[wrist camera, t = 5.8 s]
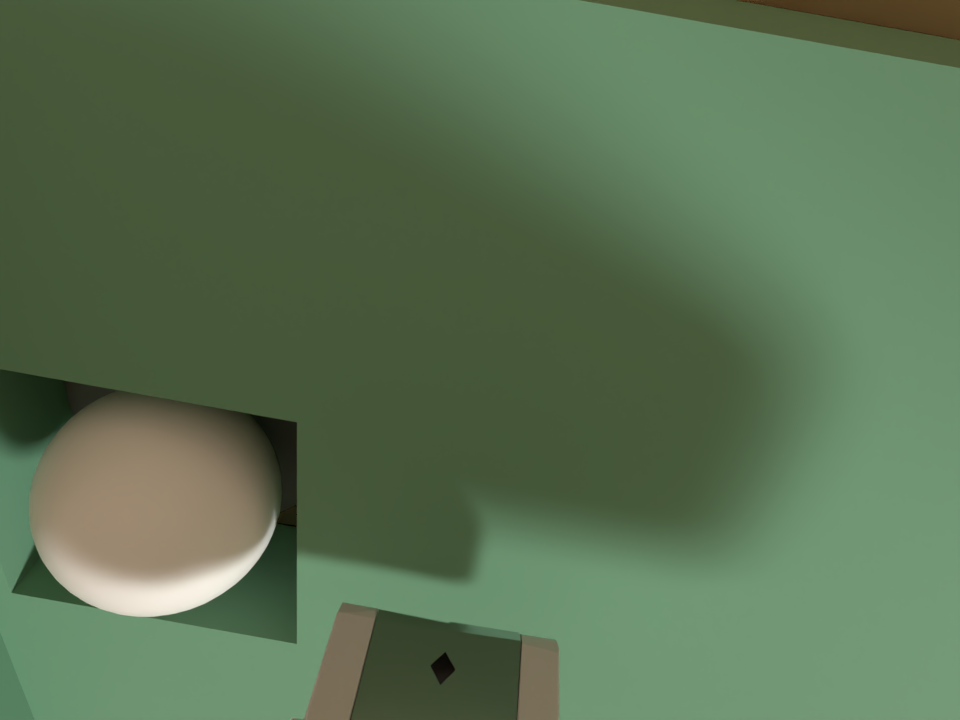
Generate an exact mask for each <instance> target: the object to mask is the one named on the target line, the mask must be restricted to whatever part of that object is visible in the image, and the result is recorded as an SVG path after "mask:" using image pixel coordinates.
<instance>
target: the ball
mask: <svg viewBox="0 0 960 720" xmlns="http://www.w3.org/2000/svg"><path fill="white" fill-rule="evenodd" d="M281 498H282V485H281V473H280V468H279V464H278V461H277V458H276V454H275V452H274V449H273V447H272V445H271V443H270V441H269V439H268V437H267V436H266V434H265V432H264V431H263V430H262V428H261V427H260V426H259V424H258V423H257V422H256V421H255V419H254V418H253V417H252V416H251V415H250V414H248V413H242V412H237V411H231V410H226V409H220V408H214V407H209V406H203V405H198V404H192V403H187V402H181V401H175V400H170V399H164V398H159V397H153V396H147V395H142V394H136V393H131V392H125V391H120V390H117V391H114V392H112V393H110V394H108V395H106V396H103V397H101V398H99V399H98V400H96V401H94V402H93V403H91V404H89V405H88V406H86V407H85V408H83V409H82V410H80V411H79V412H78V413H77V414H75V415H74V416H73V417H72V418H70V419H69V420H68V421H67V423H66V424H65V425H64V426H63V427H62V428H61V429H60V430H59V431H58V432H57V434H56V435H55V436H54V438H53V439H52V440H51V442H50V443H49V444H48V446H47V447H46V449H45V451H44V453H43V455H42V457H41V458H40V460H39V462H38V465H37V468H36V471H35V473H34V476H33V480H32V485H31V490H30V495H29V520H30V528H31V533H32V537H33V540H34V543H35V546H36V549H37V551H38V553H39V556H40V557H41V559H42V561H43V563H44V564H45V566H46V567H47V569H48V570H49V571H50V573H51V574H52V575H53V576H54V578H55V579H56V580H57V581H58V582H59V583H60V584H61V585H62V586H63V587H65V588H66V589H67V590H68V591H69V592H70V593H72V594H73V595H75V596H76V597H78V598H79V599H81V600H83V601H84V602H86V603H88V604H90V605H92V606H95V607H97V608H99V609H102V610H105V611H109V612H112V613H116V614H120V615H127V616H135V617H155V616H162V615H170V614H175V613H179V612H183V611H187V610H190V609H193V608H195V607H198V606H200V605H203V604H205V603H207V602H209V601H211V600H212V599H214V598H216V597H218V596H220V595H221V594H223V593H224V592H225V591H227V590H228V589H230V588H231V587H232V586H234V585H235V584H236V583H237V582H238V581H240V580H241V579H242V578H243V577H244V576H245V575H246V574H247V573H248V572H249V571H250V569H251V568H252V567H253V566H254V565H255V563H256V562H257V561H258V559H259V558H260V557H261V555H262V553H263V552H264V550H265V549H266V547H267V545H268V543H269V541H270V539H271V537H272V535H273V532H274V530H275V527H276V524H277V520H278V517H279V513H280V506H281Z"/></svg>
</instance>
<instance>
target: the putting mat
mask: <svg viewBox="0 0 960 720" xmlns="http://www.w3.org/2000/svg"><path fill="white" fill-rule="evenodd" d="M117 390H120V391H125V392H131V393H136V394H142V395H147V396H153V397H159V398H164V399H170V400H175V401H181V402H187V403H192V404H198V405H203V406H209V407H214V408H220V409H226V410H231V411H237V412H242V413H248V414H250V415H251V416H252V417H253V418H254V419H255V421H256V422H257V423H258V424H259V426H260V427H261V428H262V430H263V431H264V432H265V434H266V436H267V437H268V439H269V441H270V443H271V445H272V447H273V449H274V452H275V454H276V458H277V461H278V464H279V468H280V473H281V485H282V498H281V506H280V512H282V511H284V510H287V509H289V508H291V507H293V506H295V505H297V527H293V526H287V525H281V524H276V527H275V530H274V532H273V535H272V537H271V539H270V541H269V543H268V545H267V547H266V549H265V550H264V552H263V553H262V555H261V557H260V558H259V559H258V561H257V562H256V563H255V565H254V566H253V567H252V568H251V569H250V571H249V572H248V573H247V574H246V575H245V576H244V577H243V578H242V579H241V580H240V581H238V582H237V583H236V584H235V585H234V586H232V587H231V588H230V589H228V590H227V591H225V592H224V593H223V594H221V595H220V596H218V597H216V598H214V599H212V600H211V601H209V602H207V603H205V604H203V605H200V606H198V607H195V608H193V609H190V610H187V611H183V612H179V613H175V614H170V615H162V616H155V617H135V616H127V615H120V614H116V613H112V612H109V611H105V610H102V609H99V608H97V607H95V606H92V605H90V604H88V603H86V602H84V601H83V600H81V599H79V598H78V597H76V596H75V595H73V594H72V593H70V592H69V591H68V590H67V589H66V588H65V587H63V586H62V585H61V584H60V583H59V582H58V581H57V580H56V579H55V578H54V576H53V575H52V574H51V573H50V571H49V570H48V569H47V567H46V566H45V564H44V563H43V561H42V559H41V557H40V556H39V553H38V551H37V549H36V546H35V543H34V540H33V537H32V533H31V528H30V520H29V495H30V490H31V485H32V480H33V476H34V473H35V471H36V468H37V465H38V462H39V460H40V458H41V457H42V455H43V453H44V451H45V449H46V447H47V446H48V444H49V443H50V442H51V440H52V439H53V438H54V436H55V435H56V434H57V432H58V431H59V430H60V429H61V428H62V427H63V426H64V425H65V424H66V423H67V421H68V420H69V419H70V418H72V417H73V416H74V415H75V414H77V413H78V412H79V411H80V410H82V409H83V408H85V407H86V406H88V405H89V404H91V403H93V402H94V401H96V400H98V399H99V398H101V397H103V396H106V395H108V394H110V393H112V392H114V391H117ZM343 602H344V603H349V604H355V605H361V606H367V607H372V608H378V609H381V610H386V611H391V612H397V613H402V614H407V615H413V616H418V617H423V618H428V619H434V620H439V621H444V622H456V623H462V624H468V625H475V626H481V627H487V628H494V629H500V630H506V631H512V632H519V634H523V635H529V636H536V637H542V638H549V639H555V640H556V641H557V644H558V646H559V720H960V40H956V39H950V38H945V37H939V36H934V35H928V34H922V33H917V32H911V31H906V30H900V29H894V28H889V27H883V26H878V25H872V24H866V23H861V22H855V21H850V20H844V19H838V18H833V17H827V16H822V15H816V14H811V13H805V12H799V11H794V10H788V9H783V8H777V7H771V6H766V5H760V4H755V3H749V2H743V1H738V0H0V720H291V719H292V718H297V719H304V717H305V714H306V710H307V707H308V704H309V701H310V698H311V694H312V691H313V688H314V685H315V682H316V678H317V675H318V672H319V669H320V666H321V662H322V659H323V656H324V653H325V650H326V646H327V643H328V640H329V637H330V634H331V630H332V627H333V624H334V621H335V618H336V614H337V612H338V610H339V608H340V606H341V605H342V603H343Z"/></svg>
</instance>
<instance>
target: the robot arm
mask: <svg viewBox="0 0 960 720" xmlns="http://www.w3.org/2000/svg"><path fill="white" fill-rule="evenodd" d="M291 720H559V646H558V644H557V641H556V640H555V639H549V638H542V637H536V636H529V635H523V634H519V632H512V631H506V630H500V629H494V628H487V627H481V626H475V625H468V624H462V623H456V622H444V621H439V620H434V619H428V618H423V617H418V616H413V615H407V614H402V613H397V612H391V611H386V610H381V609H378V608H372V607H367V606H361V605H355V604H349V603H344V602H343V603H342V605H341V606H340V608H339V610H338V612H337V614H336V618H335V621H334V624H333V627H332V630H331V634H330V637H329V640H328V643H327V646H326V650H325V653H324V656H323V659H322V662H321V666H320V669H319V672H318V675H317V678H316V682H315V685H314V688H313V691H312V694H311V698H310V701H309V704H308V707H307V710H306V714H305V717H304V719H297V718H292V719H291Z"/></svg>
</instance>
